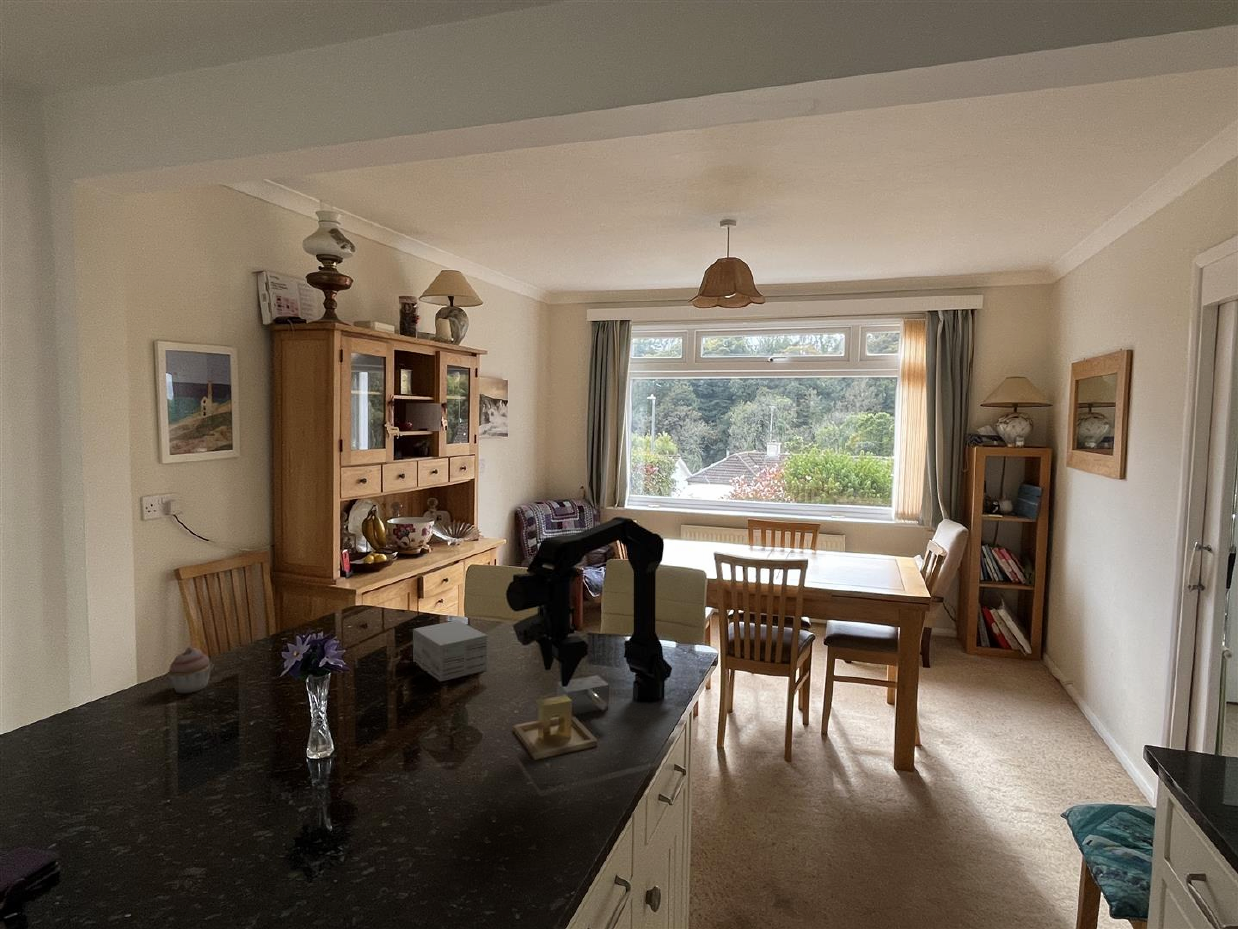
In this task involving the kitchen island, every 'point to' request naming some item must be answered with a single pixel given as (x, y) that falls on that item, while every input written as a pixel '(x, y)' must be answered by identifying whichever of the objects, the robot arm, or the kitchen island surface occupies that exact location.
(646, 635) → the robot arm
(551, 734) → the wooden block
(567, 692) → the vise block
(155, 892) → the kitchen island surface
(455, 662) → the supplement box
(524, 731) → the tray
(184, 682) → the cupcake
